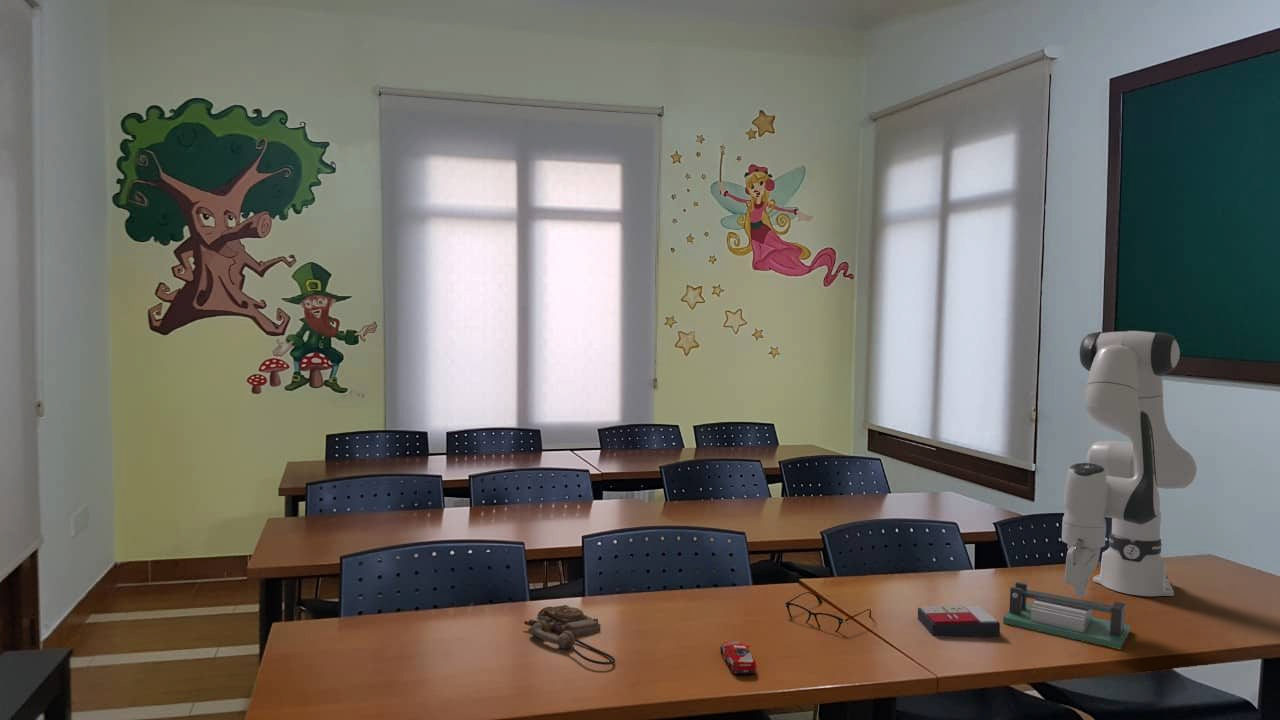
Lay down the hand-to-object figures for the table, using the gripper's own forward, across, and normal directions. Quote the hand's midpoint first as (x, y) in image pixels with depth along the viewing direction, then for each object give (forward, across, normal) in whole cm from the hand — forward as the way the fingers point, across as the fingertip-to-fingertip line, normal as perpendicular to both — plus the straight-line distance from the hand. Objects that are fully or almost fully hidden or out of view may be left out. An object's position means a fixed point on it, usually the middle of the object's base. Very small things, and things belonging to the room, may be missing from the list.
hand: (1080, 594), depth 194 cm
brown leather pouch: (+7, -79, +85) cm, 116 cm away
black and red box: (+8, -18, +22) cm, 29 cm away
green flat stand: (+8, 0, +3) cm, 9 cm away
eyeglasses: (+8, -30, +48) cm, 57 cm away
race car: (+8, -67, +51) cm, 85 cm away
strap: (+2, 0, +4) cm, 4 cm away
